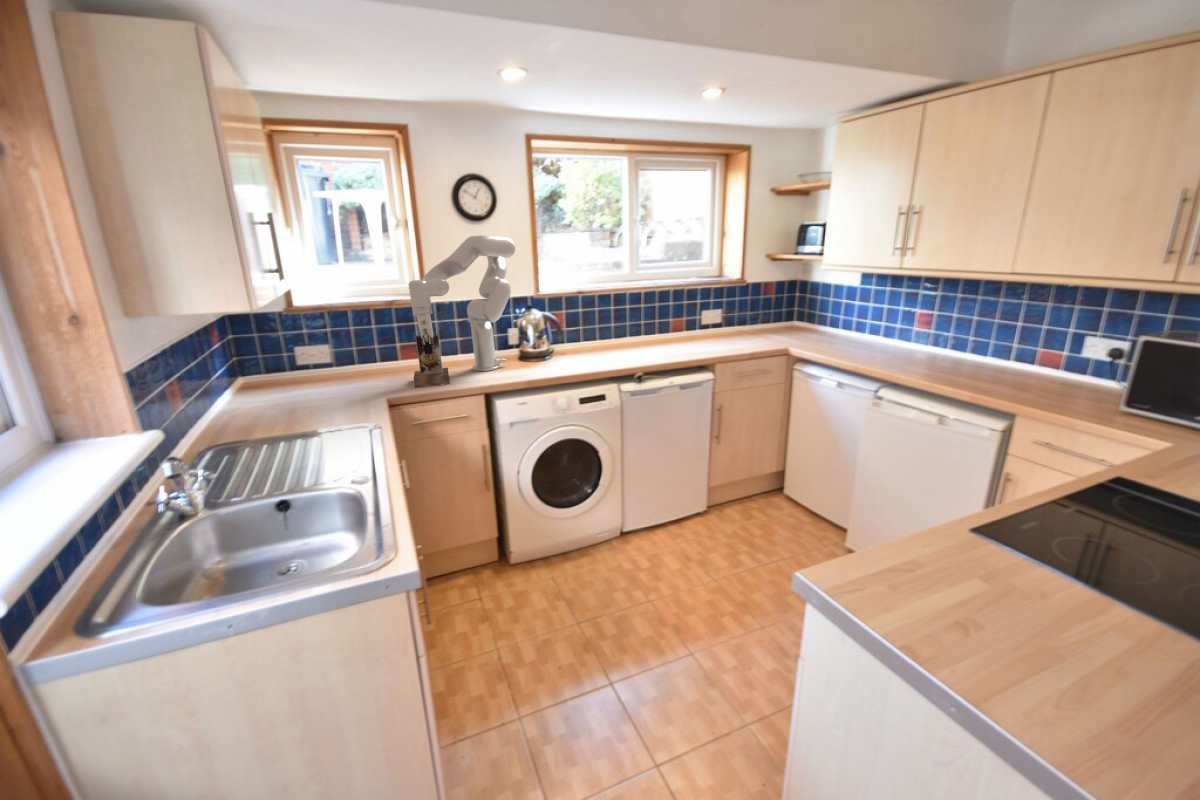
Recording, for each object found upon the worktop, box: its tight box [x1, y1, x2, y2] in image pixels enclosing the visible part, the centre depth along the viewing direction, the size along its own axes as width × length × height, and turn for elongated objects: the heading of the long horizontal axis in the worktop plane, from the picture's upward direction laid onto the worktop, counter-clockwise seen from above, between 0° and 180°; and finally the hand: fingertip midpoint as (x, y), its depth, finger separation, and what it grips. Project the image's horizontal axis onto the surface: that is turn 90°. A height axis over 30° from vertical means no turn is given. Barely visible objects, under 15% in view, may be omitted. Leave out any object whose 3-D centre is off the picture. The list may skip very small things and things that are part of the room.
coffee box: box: [415, 333, 443, 375], centre depth 223 cm, size 9×6×16 cm
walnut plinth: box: [413, 367, 451, 389], centre depth 226 cm, size 14×13×4 cm
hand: (429, 351), depth 223 cm, fingers open, 9 cm apart
